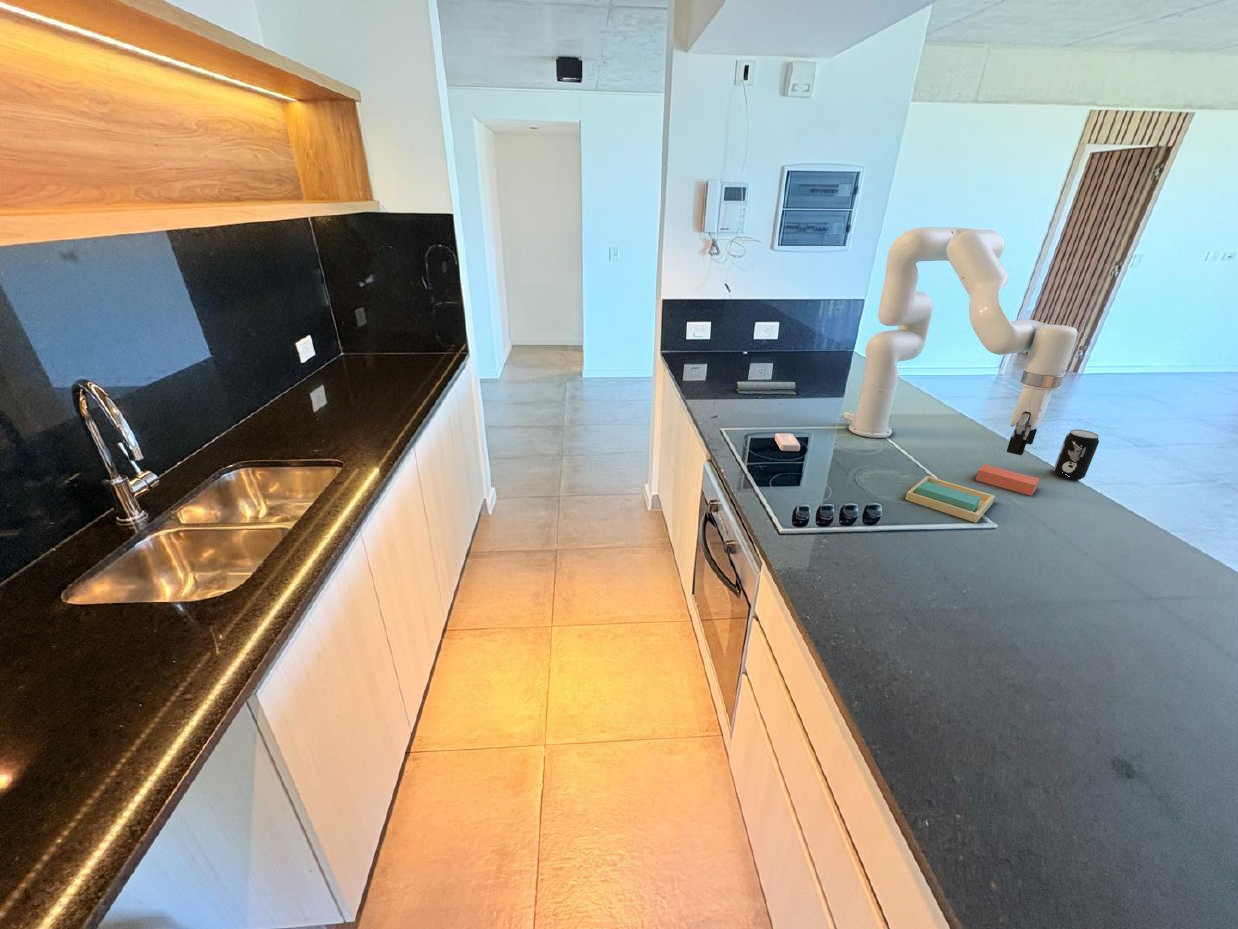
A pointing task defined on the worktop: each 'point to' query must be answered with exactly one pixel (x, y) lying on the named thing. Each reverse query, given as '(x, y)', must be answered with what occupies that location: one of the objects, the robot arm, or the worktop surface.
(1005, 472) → the red rectangular block
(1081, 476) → the beverage can
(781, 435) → the soap bar
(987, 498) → the tray
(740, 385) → the aluminum foil
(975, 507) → the pad
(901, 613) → the worktop surface
